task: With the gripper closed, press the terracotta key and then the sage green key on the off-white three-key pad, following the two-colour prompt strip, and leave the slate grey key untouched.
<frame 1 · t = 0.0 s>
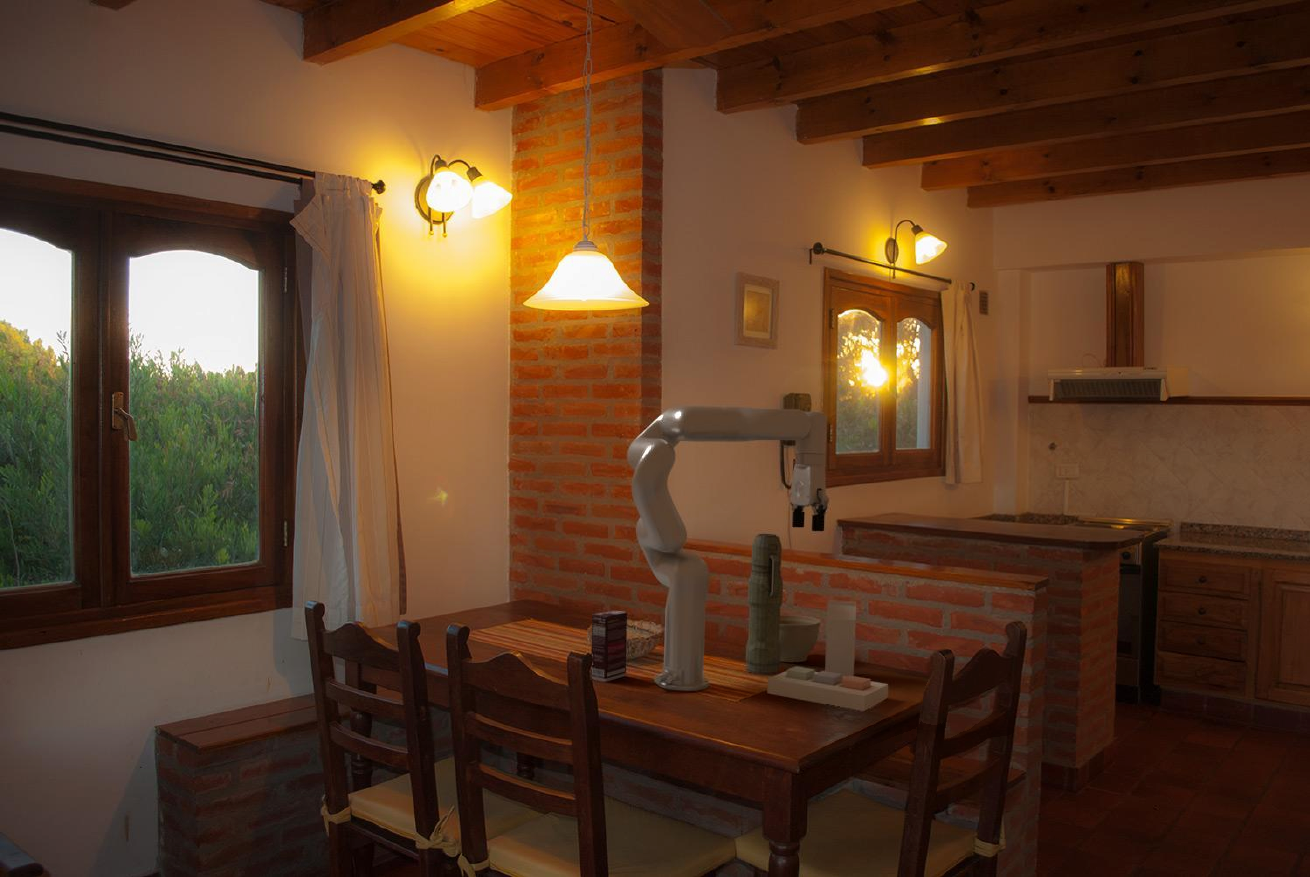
hand: (807, 529, 252), 37 cm above the table, tool pointing down, fingers open, 9 cm apart
terracotta key: (856, 684, 230), point 4 cm above the table, slide at 0.0 cm
keypad: (827, 696, 234), on the table
milk carton: (839, 676, 256), on the table
thermos: (762, 671, 258), on the table
supplement box: (607, 678, 245), on the table
planter bowl: (788, 660, 273), on the table
sage key: (800, 675, 238), point 4 cm above the table, slide at 0.0 cm
grey key: (827, 679, 234), point 4 cm above the table, slide at 0.0 cm
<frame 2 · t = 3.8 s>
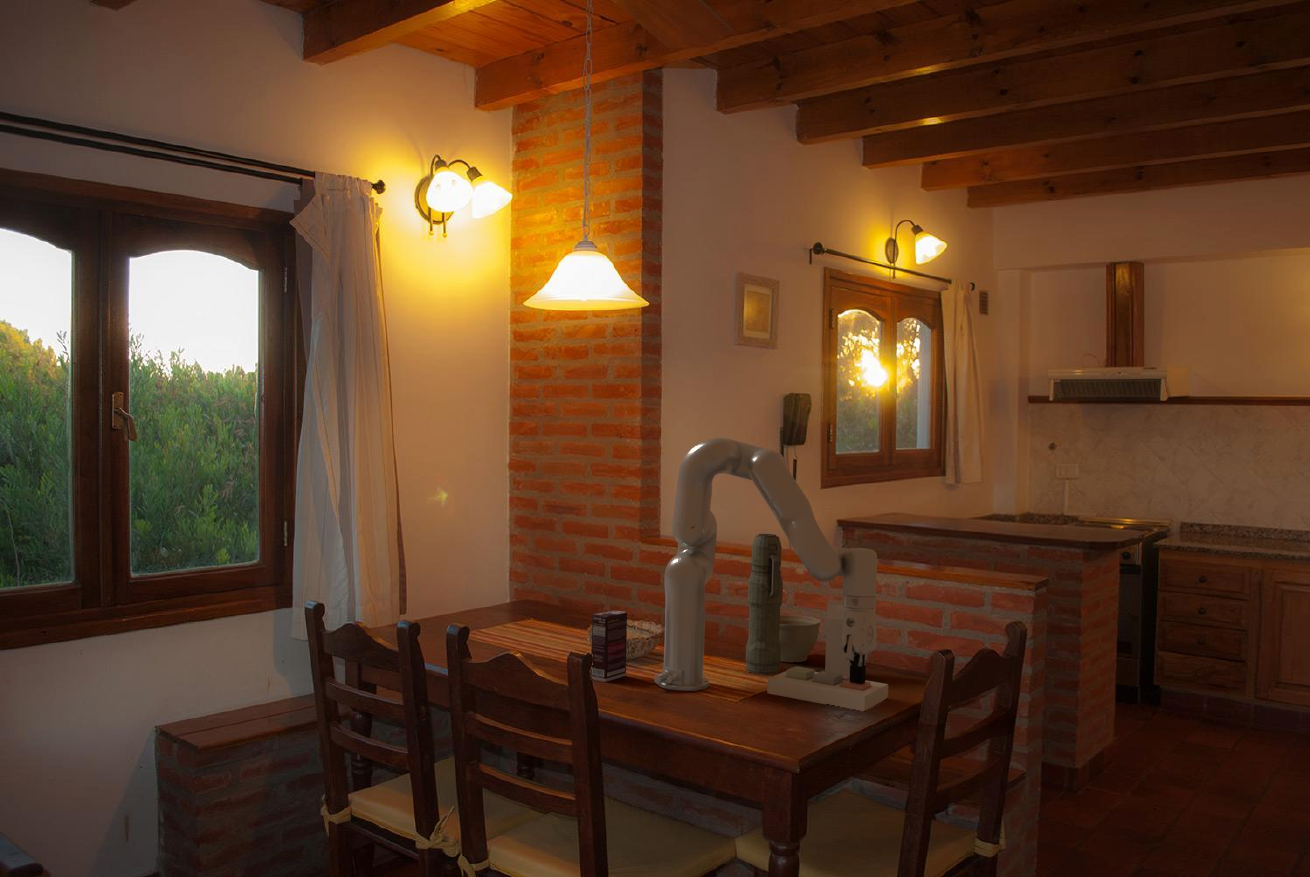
hand: (857, 682, 230), 4 cm above the table, tool pointing down, fingers closed
terracotta key: (855, 688, 230), point 3 cm above the table, slide at 0.8 cm, touching gripper
everything else where it was.
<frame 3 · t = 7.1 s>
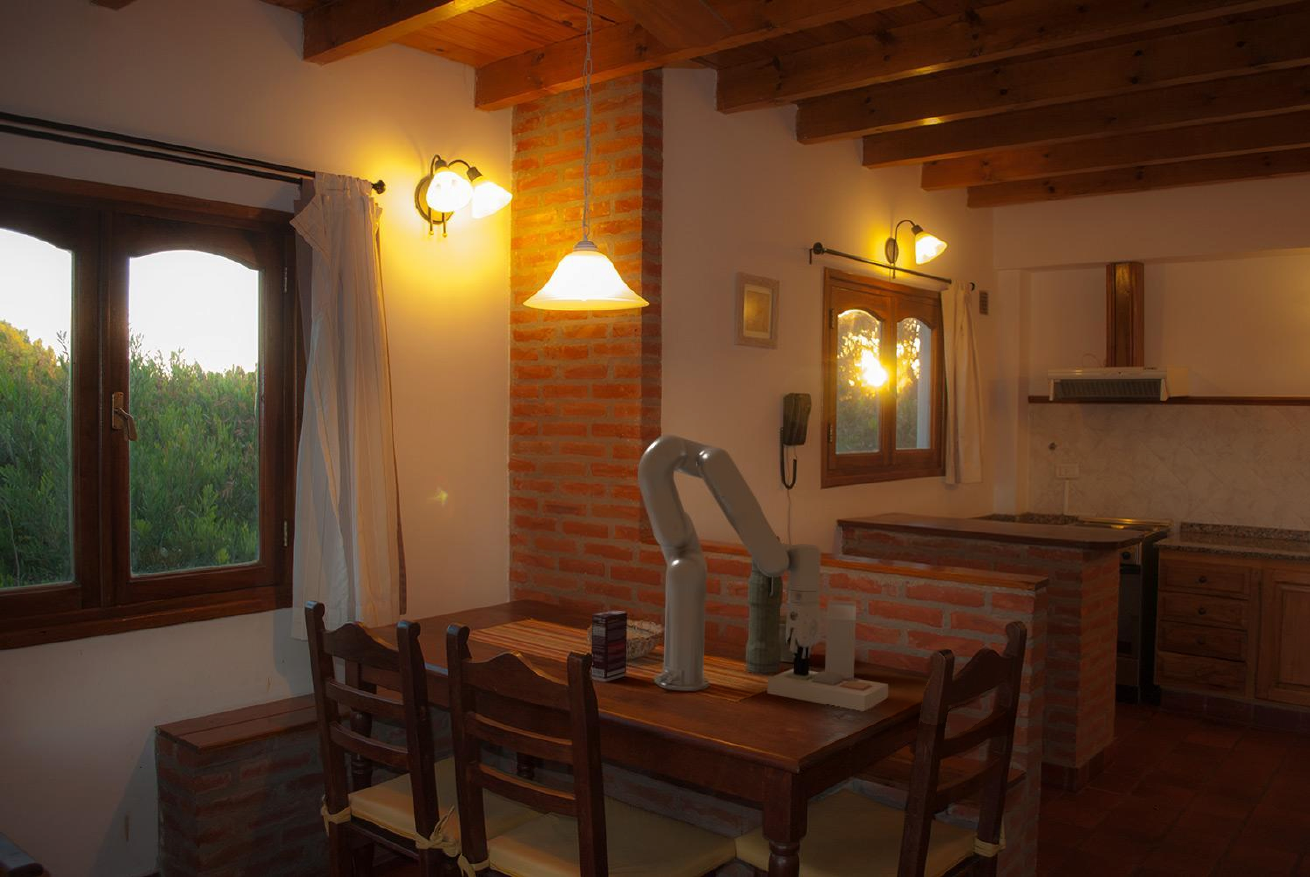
hand: (801, 674, 238), 4 cm above the table, tool pointing down, fingers closed
terracotta key: (855, 689, 230), point 3 cm above the table, slide at 1.2 cm
sage key: (800, 679, 238), point 3 cm above the table, slide at 1.1 cm, touching gripper
everything else where it was.
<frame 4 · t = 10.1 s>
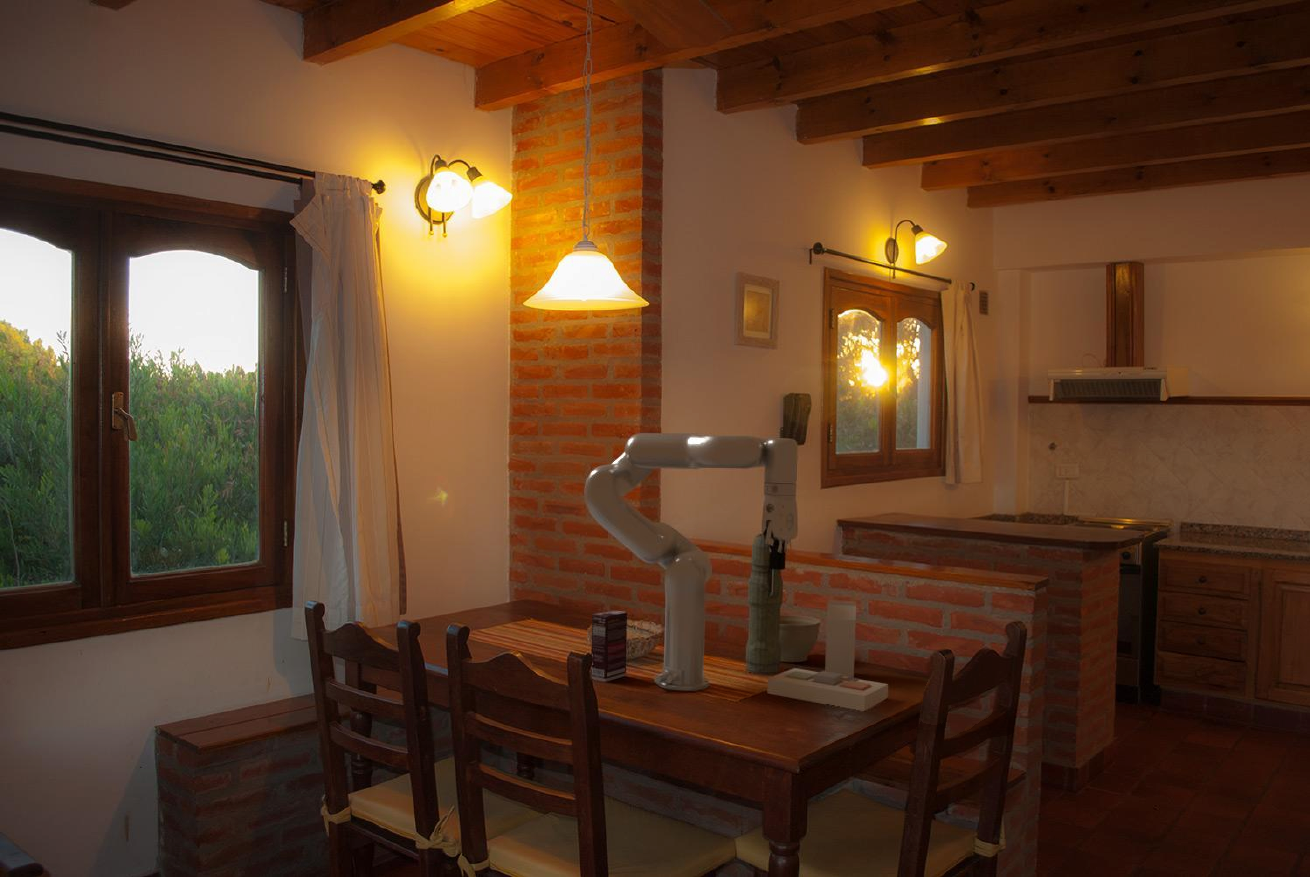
hand: (777, 568, 235), 29 cm above the table, tool pointing down, fingers closed
sage key: (800, 679, 238), point 3 cm above the table, slide at 1.2 cm
everything else where it was.
at the end: terracotta key slide at 1.2 cm; sage key slide at 1.2 cm; grey key slide at 0.0 cm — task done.
